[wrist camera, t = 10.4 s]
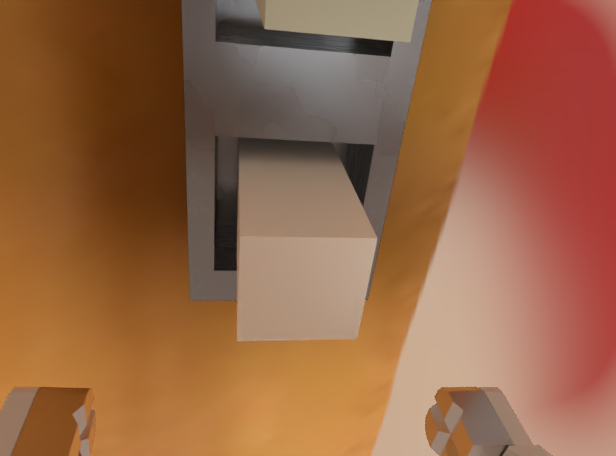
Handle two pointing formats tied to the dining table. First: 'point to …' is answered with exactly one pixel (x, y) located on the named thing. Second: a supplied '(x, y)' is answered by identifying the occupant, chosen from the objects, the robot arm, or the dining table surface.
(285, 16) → the beige peg
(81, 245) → the dining table surface
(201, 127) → the grey peg holder
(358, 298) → the block
